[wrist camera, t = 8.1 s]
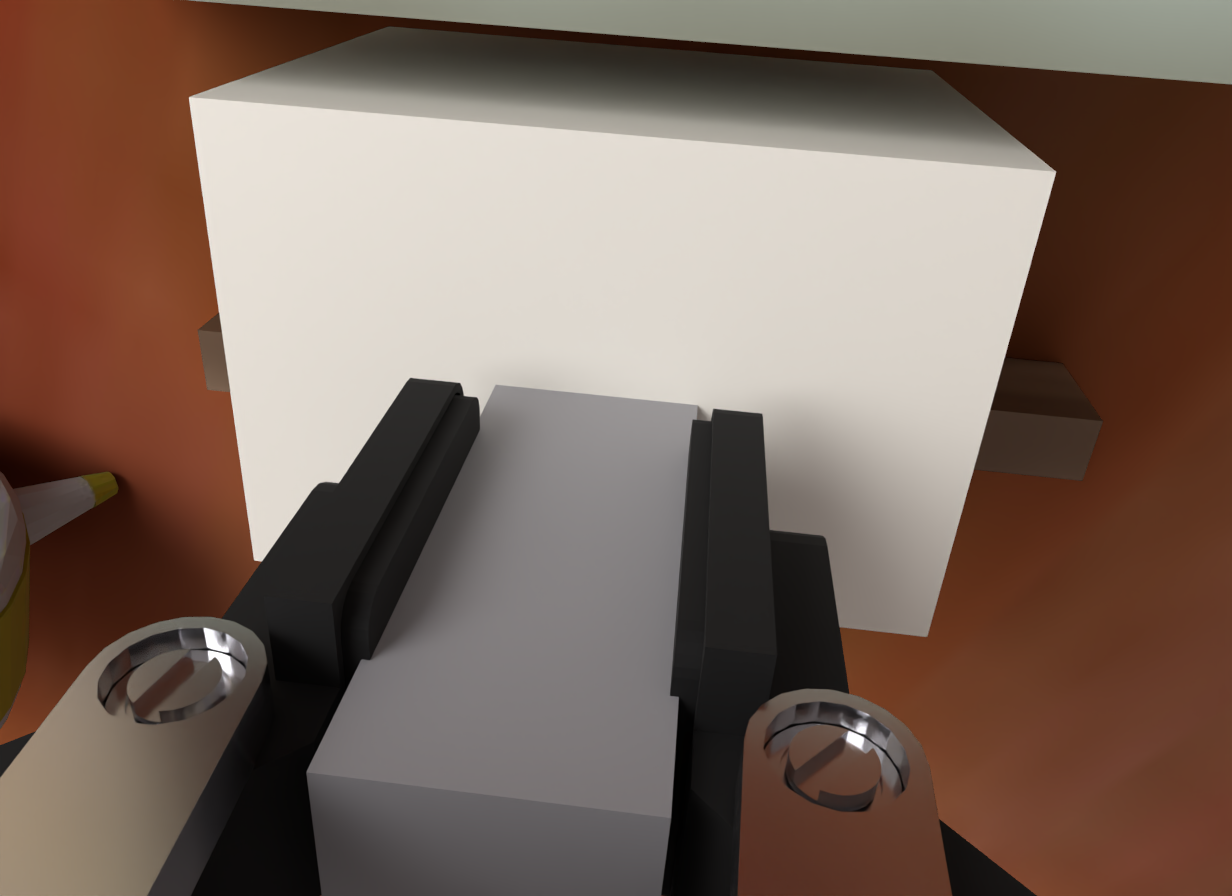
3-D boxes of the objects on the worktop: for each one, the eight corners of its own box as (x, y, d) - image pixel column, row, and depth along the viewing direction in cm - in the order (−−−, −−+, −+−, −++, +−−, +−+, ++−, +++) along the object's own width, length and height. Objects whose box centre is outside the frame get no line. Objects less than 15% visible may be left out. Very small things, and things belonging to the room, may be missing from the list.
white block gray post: (388, 26, 17) (-355, 290, 5) (931, 70, 16) (1420, 469, 5) (403, 355, 19) (-52, 983, 8) (863, 401, 19) (1062, 1140, 8)
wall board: (103, -164, 20) (-559, -222, 10) (1311, -78, 19) (2019, -41, 8) (186, 331, 26) (-185, 630, 15) (1127, 426, 24) (1422, 825, 14)
